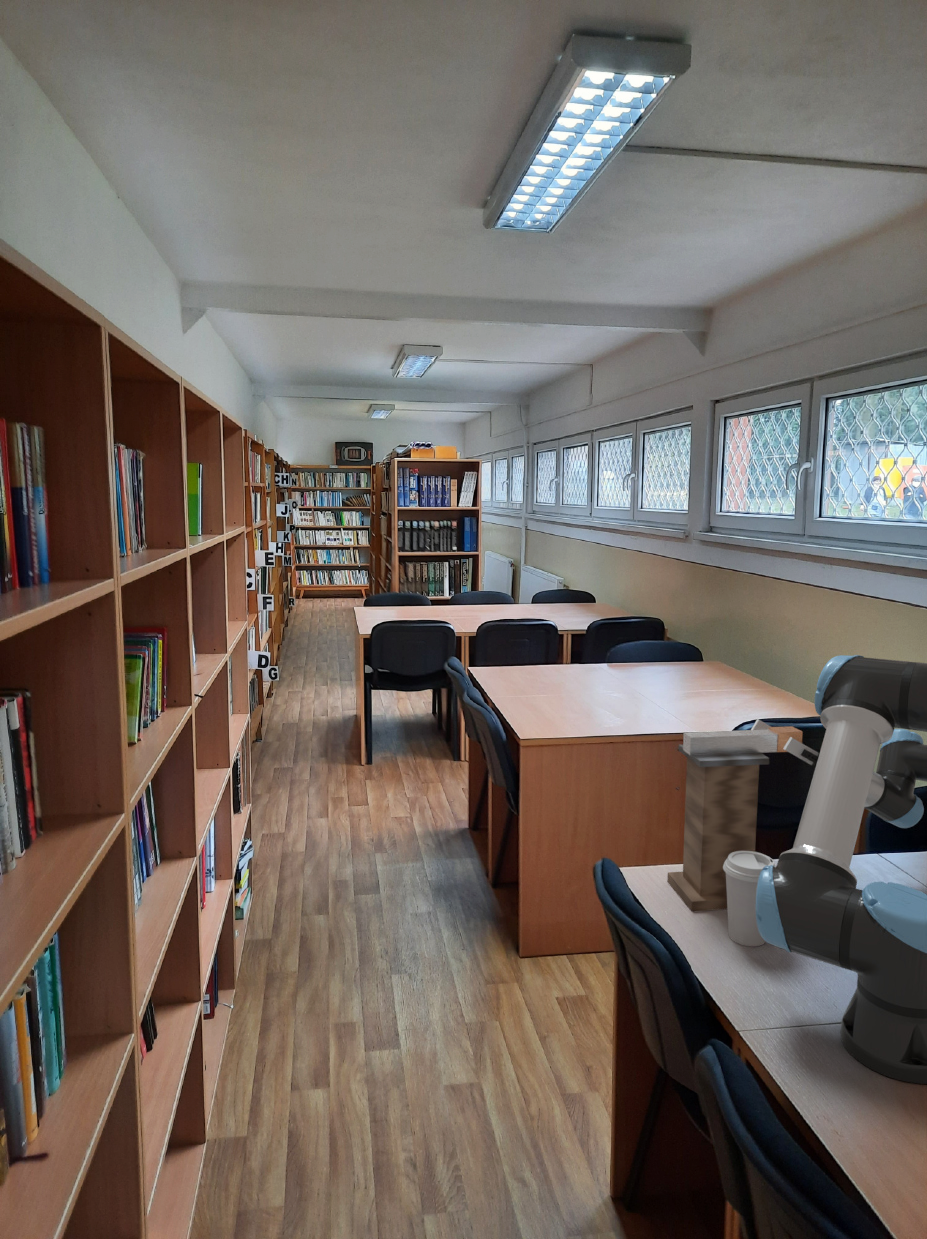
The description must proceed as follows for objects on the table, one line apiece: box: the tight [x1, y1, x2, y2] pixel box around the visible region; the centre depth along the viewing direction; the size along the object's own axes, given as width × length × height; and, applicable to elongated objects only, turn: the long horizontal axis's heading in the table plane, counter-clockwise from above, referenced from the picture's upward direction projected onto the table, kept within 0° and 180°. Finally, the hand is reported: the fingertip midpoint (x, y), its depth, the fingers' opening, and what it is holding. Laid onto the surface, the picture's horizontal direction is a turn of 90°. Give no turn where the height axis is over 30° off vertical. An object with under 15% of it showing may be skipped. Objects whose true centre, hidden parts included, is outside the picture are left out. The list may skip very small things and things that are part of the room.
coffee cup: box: [723, 851, 777, 947], centre depth 152 cm, size 10×10×15 cm
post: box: [667, 744, 770, 912], centre depth 168 cm, size 16×13×30 cm
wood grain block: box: [682, 725, 804, 755], centre depth 166 cm, size 23×4×4 cm, turn 97°
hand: (770, 733), depth 166 cm, fingers open, 13 cm apart
